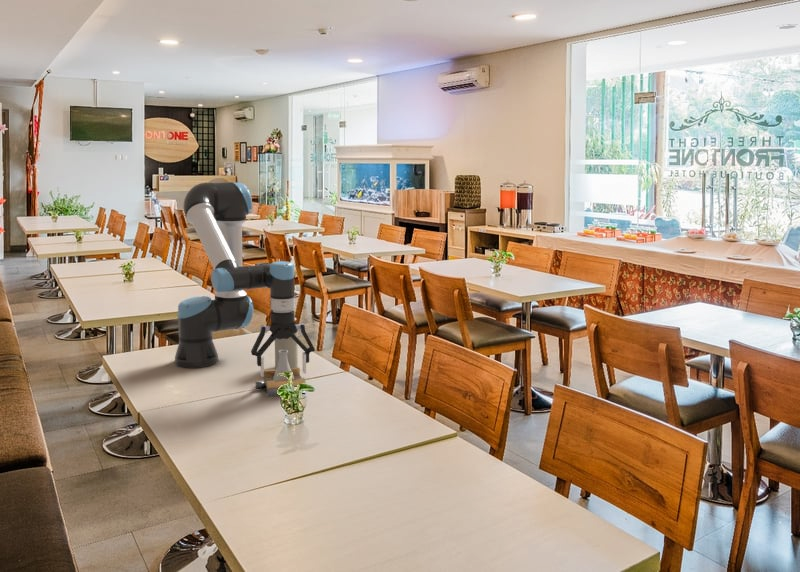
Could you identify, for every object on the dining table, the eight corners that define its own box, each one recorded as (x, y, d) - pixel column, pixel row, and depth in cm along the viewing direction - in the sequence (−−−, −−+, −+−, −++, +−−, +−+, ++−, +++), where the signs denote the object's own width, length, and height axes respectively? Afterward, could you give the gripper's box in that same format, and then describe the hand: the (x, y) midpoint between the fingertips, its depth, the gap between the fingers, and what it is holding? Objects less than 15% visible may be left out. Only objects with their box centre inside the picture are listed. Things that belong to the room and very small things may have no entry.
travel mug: (302, 366, 248) (301, 317, 245) (287, 372, 241) (286, 322, 238) (285, 362, 252) (284, 314, 249) (270, 368, 246) (269, 319, 242)
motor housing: (253, 383, 229) (253, 370, 228) (299, 379, 234) (298, 367, 233) (257, 397, 216) (257, 383, 215) (305, 393, 220) (305, 380, 220)
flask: (297, 377, 228) (296, 348, 226) (291, 384, 221) (291, 354, 219) (275, 376, 229) (275, 347, 227) (269, 383, 222) (269, 353, 220)
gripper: (243, 314, 213) (245, 380, 217) (323, 310, 220) (323, 374, 224) (241, 309, 220) (243, 373, 224) (319, 305, 227) (319, 367, 232)
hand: (283, 373), depth 224 cm, fingers open, 13 cm apart
